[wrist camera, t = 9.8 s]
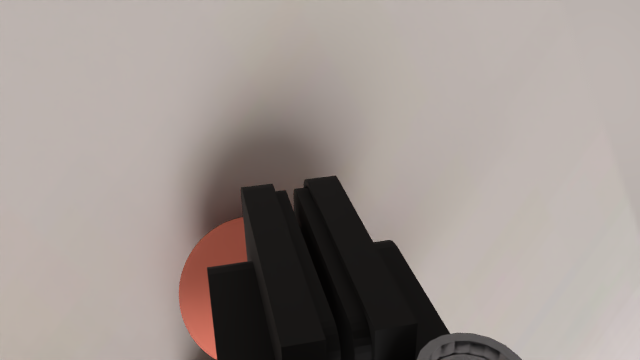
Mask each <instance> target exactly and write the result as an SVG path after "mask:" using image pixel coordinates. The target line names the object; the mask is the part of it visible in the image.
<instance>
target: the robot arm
mask: <svg viewBox="0 0 640 360" xmlns="http://www.w3.org/2000/svg"><path fill="white" fill-rule="evenodd" d="M241 199H242V209H243V220H244V231H245V241H246V252H247V262H240V263H233V264H227V265H220V266H213V267H207V274H208V283H209V292H210V301H211V309H212V318H213V327H214V336H215V345H216V354H217V360H522V359H521V358H520V357H519V356H518V355H517V354H515V353H514V352H513V351H512V350H510V349H509V348H508V347H507V346H506V345H504V344H502V343H500V342H498V341H496V340H494V339H491V338H489V337H485V336H481V335H477V334H472V333H453V334H450V333H449V331H448V329H447V328H446V326H445V325H444V323H443V321H442V320H441V318H440V316H439V315H438V313H437V311H436V310H435V308H434V306H433V305H432V303H431V302H430V300H429V298H428V297H427V295H426V293H425V292H424V290H423V288H422V287H421V285H420V283H419V282H418V280H417V279H416V277H415V275H414V274H413V272H412V270H411V269H410V267H409V265H408V264H407V262H406V260H405V259H404V257H403V256H402V254H401V252H400V251H399V249H398V247H397V246H396V245H395V243H394V242H393V241H391V240H386V241H380V242H373V241H372V239H371V238H370V236H369V234H368V232H367V230H366V229H365V227H364V225H363V223H362V221H361V219H360V218H359V216H358V214H357V212H356V210H355V209H354V207H353V205H352V203H351V201H350V200H349V198H348V196H347V194H346V192H345V191H344V189H343V187H342V185H341V183H340V181H339V180H338V178H337V177H336V176H329V177H321V178H314V179H306V180H305V181H304V188H299V189H294V211H293V209H292V206H291V203H290V201H289V198H288V195H287V193H286V191H285V190H283V191H275V189H274V186H273V184H266V185H258V186H251V187H243V188H241Z"/></svg>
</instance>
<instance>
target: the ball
mask: <svg viewBox="0 0 640 360" xmlns="http://www.w3.org/2000/svg"><path fill="white" fill-rule="evenodd" d="M240 262H247V252H246V241H245V231H244V220H243V217H241V218H237V219H233V220H230V221H228V222H225V223H223V224H221V225H219V226H218V227H216V228H215V229H213V230H212V231H210V232H209V233H208V234H206V235H205V236H204V237H203V238H202V239H201V240H200V241H199V242H198V244H197V245H196V246H195V247H194V249H193V250H192V252H191V253H190V255H189V257H188V259H187V261H186V263H185V266H184V268H183V271H182V275H181V279H180V285H179V302H180V309H181V314H182V317H183V320H184V323H185V325H186V327H187V329H188V331H189V333H190V335H191V337H192V338H193V339H194V341H195V342H196V343H197V344H198V345H199V346H200V347H201V348H202V349H203V350H204V351H205V352H206V353H207V354H208V355H210V356H211V357H212V358H214V359H216V360H217V354H216V345H215V336H214V327H213V318H212V309H211V301H210V292H209V283H208V274H207V267H213V266H220V265H227V264H233V263H240Z"/></svg>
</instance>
